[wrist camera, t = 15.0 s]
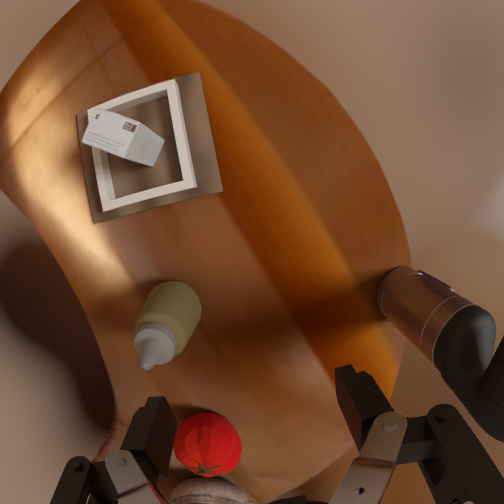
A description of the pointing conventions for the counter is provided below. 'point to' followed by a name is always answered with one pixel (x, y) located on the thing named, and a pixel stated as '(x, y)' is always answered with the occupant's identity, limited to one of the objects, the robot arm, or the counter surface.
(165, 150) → the board
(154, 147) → the skincare box
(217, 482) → the cooking pot
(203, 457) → the tomato
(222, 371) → the counter surface
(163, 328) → the squeeze bottle
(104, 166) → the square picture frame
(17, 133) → the counter surface
